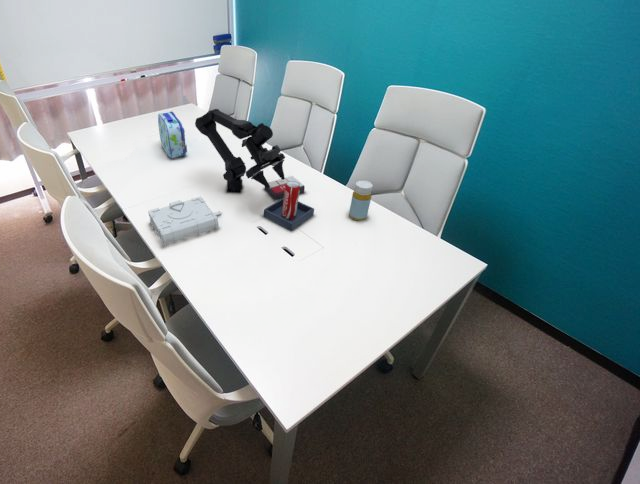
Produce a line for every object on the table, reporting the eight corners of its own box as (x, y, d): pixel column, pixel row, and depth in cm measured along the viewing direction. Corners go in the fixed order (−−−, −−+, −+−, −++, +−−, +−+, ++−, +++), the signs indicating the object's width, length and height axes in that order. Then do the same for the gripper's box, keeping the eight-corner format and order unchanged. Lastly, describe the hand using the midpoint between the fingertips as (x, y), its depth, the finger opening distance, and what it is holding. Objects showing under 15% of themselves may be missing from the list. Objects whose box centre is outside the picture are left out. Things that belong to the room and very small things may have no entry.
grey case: (231, 227, 137) (230, 211, 132) (162, 249, 126) (159, 232, 122) (211, 204, 151) (210, 189, 147) (148, 222, 141) (145, 206, 136)
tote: (263, 216, 142) (263, 209, 140) (285, 202, 151) (286, 195, 149) (291, 231, 134) (292, 223, 132) (313, 215, 142) (314, 208, 140)
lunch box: (189, 158, 190) (185, 121, 178) (170, 162, 186) (164, 124, 174) (177, 141, 209) (172, 107, 197) (159, 145, 206) (154, 110, 194)
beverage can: (278, 215, 142) (280, 183, 133) (290, 210, 145) (293, 178, 136) (288, 222, 138) (290, 189, 129) (300, 216, 141) (303, 184, 132)
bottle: (366, 213, 143) (374, 181, 134) (366, 222, 137) (373, 190, 129) (349, 210, 145) (355, 178, 136) (347, 219, 139) (354, 187, 131)
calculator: (264, 182, 158) (292, 174, 162) (264, 190, 161) (292, 182, 165) (275, 193, 150) (305, 184, 154) (275, 201, 152) (304, 192, 157)
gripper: (250, 148, 127) (272, 184, 127) (282, 134, 138) (303, 167, 138) (236, 161, 137) (256, 195, 136) (267, 147, 147) (286, 178, 147)
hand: (276, 183), depth 139 cm, fingers open, 9 cm apart
